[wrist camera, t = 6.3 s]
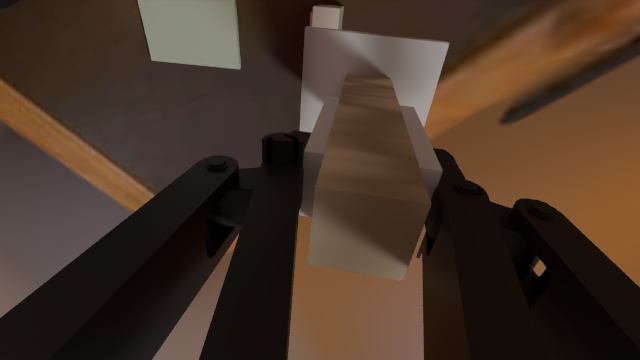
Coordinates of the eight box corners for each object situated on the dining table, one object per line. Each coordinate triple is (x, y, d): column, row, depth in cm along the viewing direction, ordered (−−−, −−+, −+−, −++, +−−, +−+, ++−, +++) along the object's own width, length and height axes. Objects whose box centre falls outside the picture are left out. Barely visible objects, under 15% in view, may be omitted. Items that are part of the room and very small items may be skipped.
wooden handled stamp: (301, 137, 23) (224, 296, 11) (307, 26, 19) (190, 74, 6) (412, 152, 23) (472, 341, 10) (445, 41, 18) (620, 127, 6)
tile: (314, 91, 38) (305, 110, 32) (319, 4, 33) (309, 5, 26) (335, 93, 38) (330, 113, 32) (343, 6, 33) (340, 8, 26)
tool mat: (154, 59, 38) (151, 60, 38) (127, -55, 32) (124, -56, 31) (241, 68, 38) (239, 69, 37) (232, -47, 31) (230, -48, 31)
